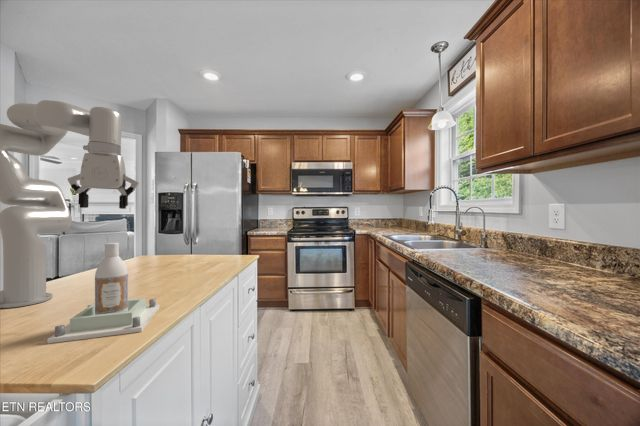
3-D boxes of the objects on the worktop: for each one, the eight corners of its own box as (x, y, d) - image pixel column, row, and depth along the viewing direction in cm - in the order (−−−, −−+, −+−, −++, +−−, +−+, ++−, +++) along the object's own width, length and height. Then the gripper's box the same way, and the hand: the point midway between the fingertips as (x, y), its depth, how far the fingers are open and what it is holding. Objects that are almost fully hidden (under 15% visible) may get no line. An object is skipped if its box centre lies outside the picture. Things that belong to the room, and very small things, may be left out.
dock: (47, 343, 60) (47, 325, 60) (87, 314, 77) (87, 300, 77) (141, 331, 65) (141, 315, 65) (159, 307, 82) (159, 294, 82)
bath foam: (93, 326, 66) (92, 245, 66) (97, 317, 72) (96, 242, 72) (127, 320, 70) (127, 243, 70) (128, 312, 76) (128, 241, 76)
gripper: (61, 145, 74) (59, 207, 74) (134, 151, 79) (132, 209, 79) (76, 150, 81) (75, 207, 81) (142, 156, 87) (141, 209, 87)
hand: (103, 208), depth 80 cm, fingers open, 9 cm apart
